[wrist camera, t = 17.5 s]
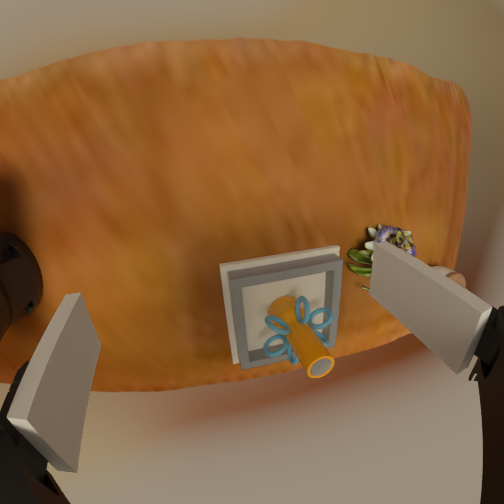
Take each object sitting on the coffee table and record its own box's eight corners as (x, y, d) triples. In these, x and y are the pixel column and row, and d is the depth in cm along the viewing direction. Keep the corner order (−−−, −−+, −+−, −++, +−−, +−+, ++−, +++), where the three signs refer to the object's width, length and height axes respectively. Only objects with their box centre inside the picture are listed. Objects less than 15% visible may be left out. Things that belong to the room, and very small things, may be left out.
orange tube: (303, 268, 47) (350, 317, 34) (323, 311, 52) (366, 362, 38) (238, 307, 47) (264, 369, 34) (266, 346, 52) (294, 406, 38)
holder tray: (232, 360, 52) (236, 374, 49) (219, 263, 45) (222, 275, 41) (330, 337, 56) (339, 349, 53) (336, 244, 49) (348, 253, 45)
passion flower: (361, 220, 54) (419, 217, 46) (368, 272, 57) (423, 273, 48) (336, 236, 47) (405, 233, 38) (345, 296, 49) (409, 300, 41)
